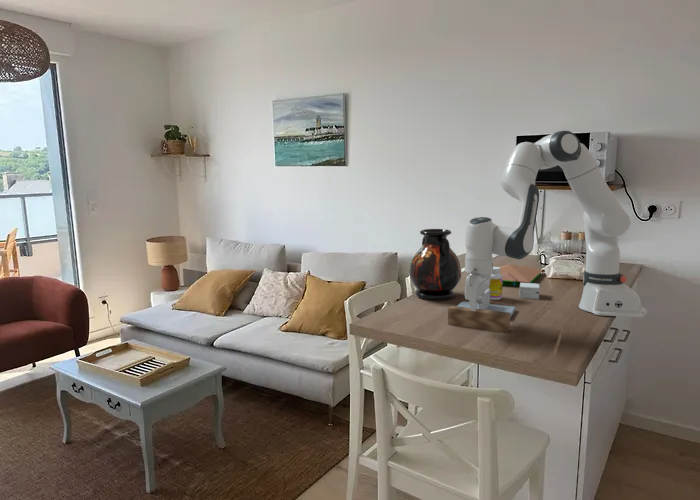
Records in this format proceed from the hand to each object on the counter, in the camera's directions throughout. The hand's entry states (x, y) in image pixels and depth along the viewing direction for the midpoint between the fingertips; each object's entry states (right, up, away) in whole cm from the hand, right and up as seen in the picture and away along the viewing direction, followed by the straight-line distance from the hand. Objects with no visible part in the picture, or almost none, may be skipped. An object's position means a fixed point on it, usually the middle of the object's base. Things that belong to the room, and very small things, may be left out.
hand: (476, 307), depth 164 cm
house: (+34, +4, +70) cm, 78 cm away
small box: (+32, -1, +39) cm, 51 cm away
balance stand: (+7, -4, +17) cm, 19 cm away
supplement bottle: (+16, -1, +37) cm, 41 cm away
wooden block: (+1, -7, +1) cm, 7 cm away
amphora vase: (-7, -1, +42) cm, 43 cm away
